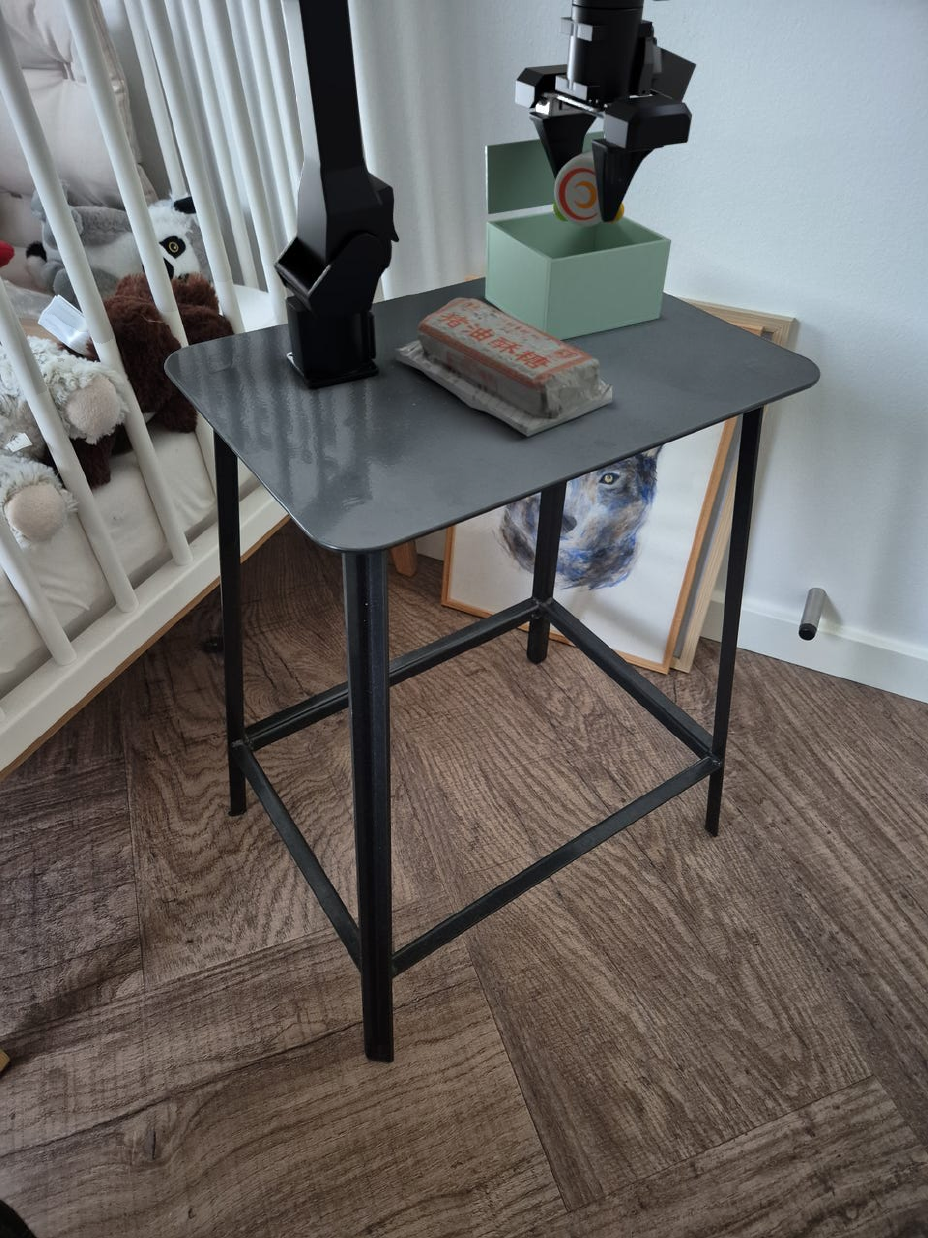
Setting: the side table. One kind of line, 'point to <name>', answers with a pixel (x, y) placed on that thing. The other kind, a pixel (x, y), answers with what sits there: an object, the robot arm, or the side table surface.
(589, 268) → the pale green hollow box
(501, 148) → the green box lid
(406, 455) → the side table surface
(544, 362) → the packaged product
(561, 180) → the roller toy
